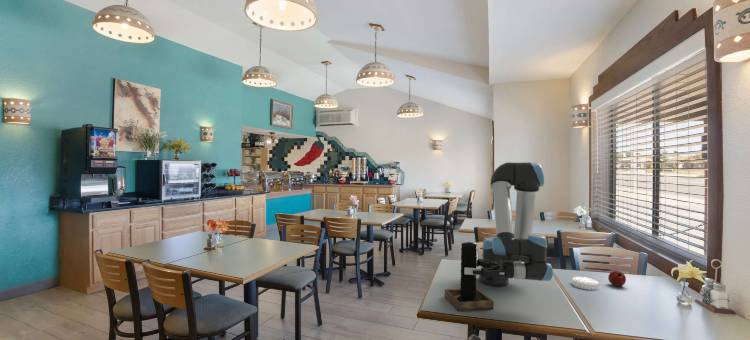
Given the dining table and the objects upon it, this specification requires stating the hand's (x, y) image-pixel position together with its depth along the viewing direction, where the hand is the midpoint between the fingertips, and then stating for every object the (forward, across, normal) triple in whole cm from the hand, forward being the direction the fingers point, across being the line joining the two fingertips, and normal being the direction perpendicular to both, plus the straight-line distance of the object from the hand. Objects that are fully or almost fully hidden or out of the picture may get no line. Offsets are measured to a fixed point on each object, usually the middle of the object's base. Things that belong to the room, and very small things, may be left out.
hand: (463, 266), depth 155 cm
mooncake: (-64, -37, +17) cm, 76 cm away
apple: (-81, -41, +16) cm, 92 cm away
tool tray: (-2, 0, +16) cm, 16 cm away
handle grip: (-2, 0, +16) cm, 16 cm away
